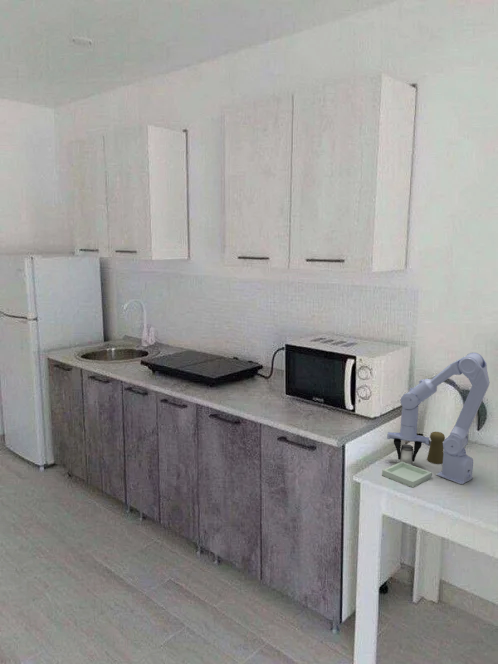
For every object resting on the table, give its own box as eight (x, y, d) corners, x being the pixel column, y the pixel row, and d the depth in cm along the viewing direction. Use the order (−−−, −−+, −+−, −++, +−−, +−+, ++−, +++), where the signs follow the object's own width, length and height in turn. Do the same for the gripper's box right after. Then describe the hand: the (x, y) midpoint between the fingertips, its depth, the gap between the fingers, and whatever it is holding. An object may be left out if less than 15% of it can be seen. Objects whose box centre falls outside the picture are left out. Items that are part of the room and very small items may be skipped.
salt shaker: (414, 464, 191) (415, 446, 190) (407, 468, 188) (409, 449, 187) (404, 461, 194) (405, 443, 193) (397, 464, 192) (398, 446, 190)
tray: (431, 477, 181) (432, 472, 180) (412, 487, 173) (413, 482, 172) (401, 466, 189) (401, 461, 189) (382, 475, 182) (382, 469, 181)
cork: (446, 464, 192) (448, 435, 191) (429, 463, 193) (432, 435, 191) (440, 457, 198) (443, 430, 197) (424, 457, 199) (427, 429, 197)
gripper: (430, 423, 190) (427, 458, 193) (389, 418, 195) (386, 452, 197) (430, 429, 184) (427, 465, 186) (387, 424, 188) (385, 459, 191)
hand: (406, 459), depth 191 cm, fingers closed on salt shaker, 4 cm apart
